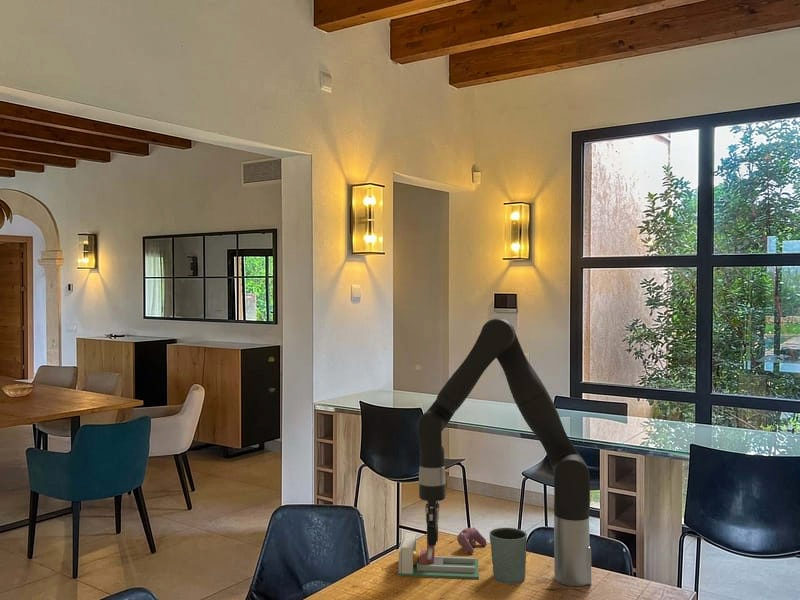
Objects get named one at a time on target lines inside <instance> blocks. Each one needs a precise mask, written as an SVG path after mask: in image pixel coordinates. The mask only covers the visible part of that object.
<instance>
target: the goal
mask: <svg viewBox="0 0 800 600" xmlns="http://www.w3.org/2000/svg"><path fill="white" fill-rule="evenodd" d="M399 545H400V546H399V548H398V572H399V573H404V574H413V551H416V552H417V532H405V536H404V535H403V536H402V539H401V542H400V544H399Z"/></svg>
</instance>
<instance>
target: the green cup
mask: <svg viewBox="0 0 800 600" xmlns="http://www.w3.org/2000/svg"><path fill="white" fill-rule="evenodd" d="M488 534H489V541H490V550H491V554H490V555H491V563H492V575H493V579H494V580H495V581H497V582H499V583H502V584H505V585H506V584H507V585H508V584H509V585H514V584H521V583H522V582H525V580H526V571H527V569H526V567H527V565H526V563H527V543H528V542H527V541H528V539H527V538H528V534H527V532H525V530H522V529H519V528H515V527H500V528H499V527H498V528H494V529H492V530H490V531H489V533H488Z"/></svg>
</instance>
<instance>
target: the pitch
mask: <svg viewBox="0 0 800 600" xmlns="http://www.w3.org/2000/svg"><path fill="white" fill-rule="evenodd" d="M435 558H444V563H443V565H423V564H420V555H419V562H418V563H417V564H416V565H414V566H413V574H404V573H399V571H398V572H397V576H398V577H415V578H416V577H418V578H440V579H441V578H442V579H446V578H447V579H464V580H466V579H468V580H480V573H479V558H478V559H477V558H475V557H468V556H466V557H464V556H462V557H461V556H442V555H441V556H437V555H435Z"/></svg>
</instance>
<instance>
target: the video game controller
mask: <svg viewBox="0 0 800 600" xmlns="http://www.w3.org/2000/svg"><path fill="white" fill-rule="evenodd" d="M473 540H474V541H473ZM487 542H488V541H487V539H486V538H485V537H484V536H483V535H482V534H481V533H480V532H479V530H478V529H477V528H475V527H466V528H464V529H462V530H461V531H460V533H459V534H458V535H457V543H458V544H459V545H460V546H461V547H462V548H463V550H464V551H465V552H466V553H468V554H469V555H473V554H474V548H473V547H476V544H477V543H478V544H480V545H479V546H482V547H486V546H487V544H488V543H487ZM486 543H487V544H486Z"/></svg>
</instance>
